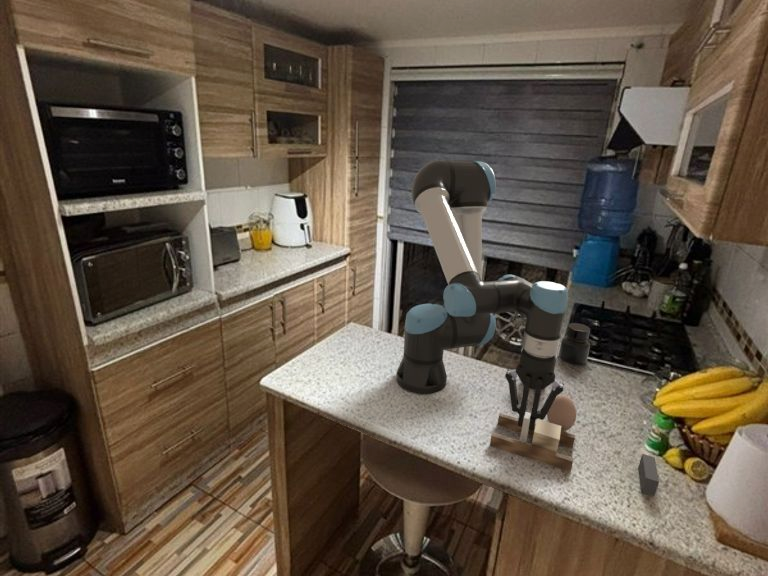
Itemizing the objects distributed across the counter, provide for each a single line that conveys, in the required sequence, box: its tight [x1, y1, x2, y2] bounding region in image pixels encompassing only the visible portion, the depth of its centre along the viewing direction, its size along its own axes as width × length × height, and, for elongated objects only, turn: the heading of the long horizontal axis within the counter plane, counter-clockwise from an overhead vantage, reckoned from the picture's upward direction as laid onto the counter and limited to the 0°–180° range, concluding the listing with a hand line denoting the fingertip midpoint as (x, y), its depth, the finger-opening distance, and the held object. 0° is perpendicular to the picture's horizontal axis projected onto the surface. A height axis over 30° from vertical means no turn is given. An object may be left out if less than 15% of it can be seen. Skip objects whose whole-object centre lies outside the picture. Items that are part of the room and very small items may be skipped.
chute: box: [489, 412, 576, 473], centre depth 100 cm, size 18×10×3 cm, turn 64°
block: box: [531, 419, 561, 453], centre depth 98 cm, size 6×6×6 cm
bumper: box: [637, 453, 660, 498], centre depth 90 cm, size 2×8×4 cm, turn 154°
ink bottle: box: [558, 322, 591, 366], centre depth 141 cm, size 10×9×12 cm
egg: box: [546, 395, 577, 432], centre depth 105 cm, size 7×7×10 cm
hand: (523, 438), depth 101 cm, fingers closed
